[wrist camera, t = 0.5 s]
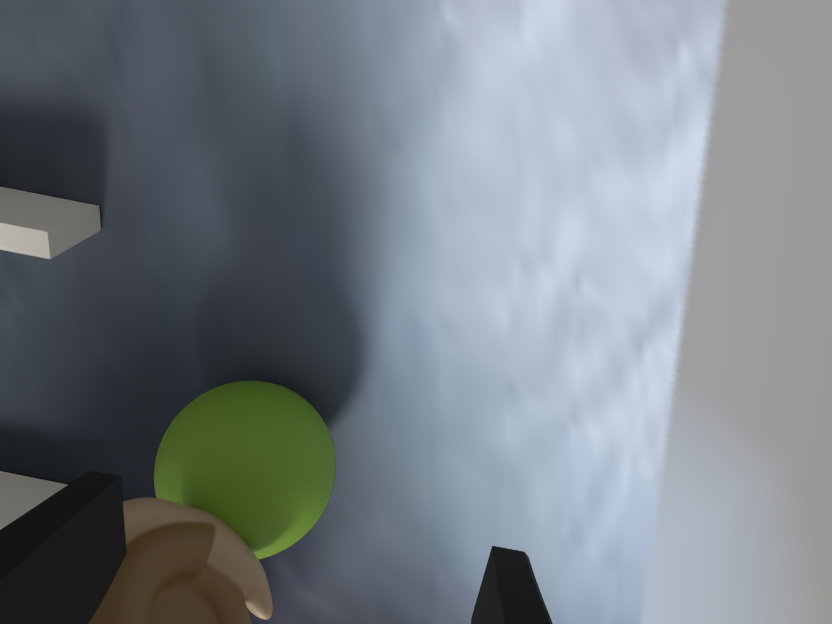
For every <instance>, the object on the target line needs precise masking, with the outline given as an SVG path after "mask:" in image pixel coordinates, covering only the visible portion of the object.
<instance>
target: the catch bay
mask: <svg viewBox="0 0 832 624" xmlns="http://www.w3.org/2000/svg"><path fill="white" fill-rule="evenodd" d="M99 231H101V224H100V209H99V206H98V205H93V204H87V203H82V202H77V201H72V200H67V199H62V198H56V197H51V196H46V195H41V194H36V193H31V192H26V191H20V190H15V189H10V188H5V187H0V250H5V251H11V252H16V253H21V254H26V255H31V256H36V257H41V258H46V259H52V258H53V257H55V256H57V255H59V254H60V253H62V252H64V251H66V250H68V249H69V248H71V247H73V246H75V245H76V244H78V243H80V242H82V241H83V240H85V239H87V238H89V237H90V236H92V235H94V234H96V233H97V232H99ZM67 485H68V484H63V483H58V482H53V481H48V480H43V479H38V478H33V477H28V476H23V475H18V474H13V473H8V472H3V471H0V529H2V528H4V527H5V526H7V525H8V524H10V523H11V522H13V521H14V520H16V519H17V518H19V517H20V516H22V515H23V514H25V513H26V512H28V511H29V510H31V509H32V508H34V507H35V506H37V505H38V504H40V503H41V502H43V501H44V500H46V499H47V498H49V497H50V496H52V495H53V494H55V493H56V492H58V491H59V490H61V489H62V488H64V487H65V486H67Z"/></svg>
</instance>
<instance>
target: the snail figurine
mask: <svg viewBox="0 0 832 624" xmlns="http://www.w3.org/2000/svg"><path fill="white" fill-rule="evenodd" d="M335 472H336V459H335V450H334V445H333V441H332V438H331V435H330V433H329V430H328V428H327V426H326V424H325V422H324V421H323V419H322V418H321V416H320V415H319V413H318V412H317V411H316V410H315V408H314V407H313V406H312V405H311V404H310V403H308V402H307V401H306V400H305V399H304V398H302V397H301V396H300V395H298V394H297V393H295V392H293V391H291V390H289V389H287V388H285V387H283V386H280V385H277V384H273V383H269V382H263V381H238V382H232V383H228V384H224V385H221V386H218V387H216V388H213V389H211V390H209V391H207V392H205V393H203V394H202V395H200V396H198V397H197V398H196V399H194V400H193V401H192V402H190V403H189V404H188V405H187V406H186V407H185V408H184V409H183V410H182V411H181V412H180V413H179V414H178V415H177V416H176V417H175V419H174V420H173V421H172V423H171V424H170V426H169V427H168V429H167V430H166V432H165V434H164V436H163V438H162V441H161V443H160V446H159V449H158V452H157V456H156V460H155V467H154V487H155V494H156V498H150V497H144V498H136V499H131V500H127V501H124V502H123V511H124V523H125V536H126V548H127V554H126V556H125V558H124V560H123V562H122V564H121V566H120V568H119V570H118V572H117V574H116V576H115V578H114V580H113V582H112V584H111V586H110V587H109V589H108V591H107V593H106V595H105V597H104V599H103V601H102V602H101V604H100V606H99V608H98V609H97V611H96V612H95V614H94V615H93V617H92V618H91V620H90V621H89V623H88V624H252V622H251V619H250V615H249V612H248V609H249V610H250V611H251V612H252V613H253V614H254V615H256V616H257V617H259V618H261V619H269V618H270V617H271V615H272V612H273V604H272V597H271V592H270V588H269V584H268V581H267V577H266V574H265V572H264V569H263V567H262V565H261V563H260V561H259V560H258V559H262V558H266V557H269V556H272V555H274V554H277V553H279V552H281V551H283V550H285V549H287V548H288V547H290V546H292V545H293V544H294V543H296V542H297V541H298V540H300V539H301V538H302V537H303V536H304V535H305V534H306V533H307V532H308V531H309V530H310V529H311V528H312V527H313V526H314V525H315V523H316V522H317V521H318V519H319V518H320V516H321V515H322V513H323V511H324V509H325V507H326V505H327V503H328V501H329V498H330V496H331V493H332V489H333V485H334V480H335ZM247 608H248V609H247Z"/></svg>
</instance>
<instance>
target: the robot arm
mask: <svg viewBox="0 0 832 624" xmlns="http://www.w3.org/2000/svg"><path fill="white" fill-rule="evenodd" d="M126 554H127V548H126V536H125V523H124V511H123V498H122V486H121V476H116V475H111V474H105V473H100V472H95V471H89V472H87V473H85V474H84V475H82V476H81V477H79V478H78V479H76V480H75V481H73V482H72V483H70V484H68V485H67V486H65V487H64V488H62V489H61V490H59V491H58V492H56V493H55V494H53V495H52V496H50V497H49V498H47V499H46V500H44V501H43V502H41V503H40V504H38V505H37V506H35V507H34V508H32V509H31V510H29V511H28V512H26V513H25V514H23V515H22V516H20V517H19V518H17V519H16V520H14V521H13V522H11V523H10V524H8V525H7V526H5V527H4V528H2V529H0V624H88V623H89V621H90V620H91V618H92V617H93V615H94V614H95V612H96V611H97V609H98V608H99V606H100V604H101V602H102V601H103V599H104V597H105V595H106V593H107V591H108V589H109V587H110V586H111V584H112V582H113V580H114V578H115V576H116V574H117V572H118V570H119V568H120V566H121V564H122V562H123V560H124V558H125V556H126ZM471 624H552V621H551V619H550V616H549V613H548V611H547V608H546V606H545V603H544V601H543V598H542V595H541V593H540V590H539V587H538V584H537V582H536V579H535V576H534V573H533V570H532V567H531V564H530V561H529V557H528V556H527V555H526V553H525V552H522V551H517V550H512V549H506V548H501V547H496V546H492V549H491V552H490V556H489V559H488V563H487V566H486V570H485V573H484V577H483V580H482V584H481V587H480V591H479V594H478V598H477V601H476V604H475V608H474V611H473V615H472V619H471Z"/></svg>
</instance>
